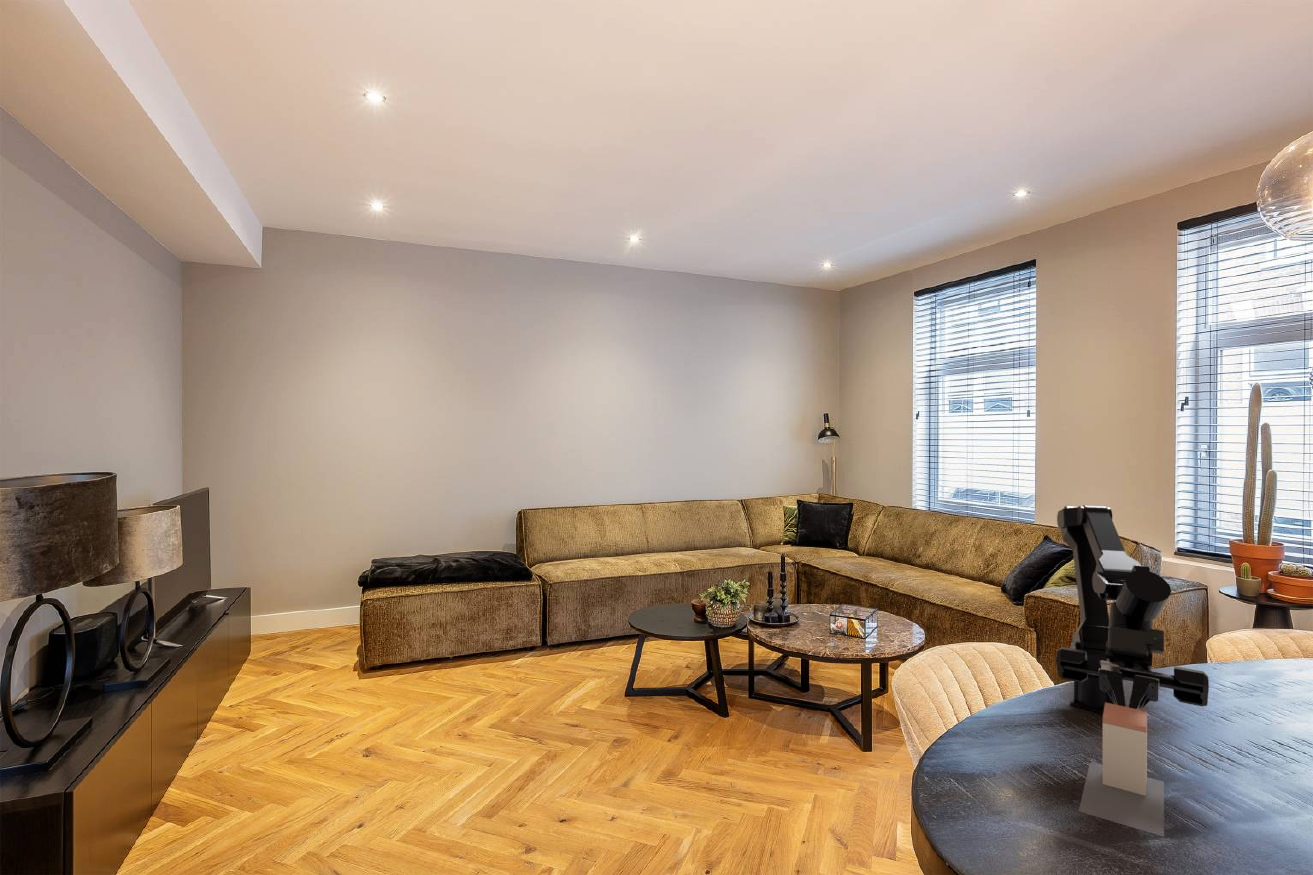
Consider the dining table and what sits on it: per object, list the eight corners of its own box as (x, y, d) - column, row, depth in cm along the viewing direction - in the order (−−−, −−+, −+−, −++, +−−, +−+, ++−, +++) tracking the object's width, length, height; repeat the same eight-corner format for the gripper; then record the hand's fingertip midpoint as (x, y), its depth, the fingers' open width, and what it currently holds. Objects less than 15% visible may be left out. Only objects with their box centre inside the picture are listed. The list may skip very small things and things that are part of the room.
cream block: (1104, 766, 98) (1105, 702, 97) (1146, 776, 95) (1147, 711, 94) (1102, 783, 94) (1102, 717, 93) (1145, 795, 91) (1146, 727, 90)
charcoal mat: (1089, 765, 101) (1089, 762, 101) (1164, 785, 95) (1164, 781, 95) (1078, 814, 87) (1078, 810, 87) (1164, 840, 82) (1164, 836, 82)
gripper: (1058, 596, 106) (1048, 683, 97) (1208, 616, 95) (1212, 717, 86) (1063, 634, 113) (1054, 720, 104) (1205, 657, 101) (1208, 755, 92)
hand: (1126, 727), depth 96 cm, fingers closed
